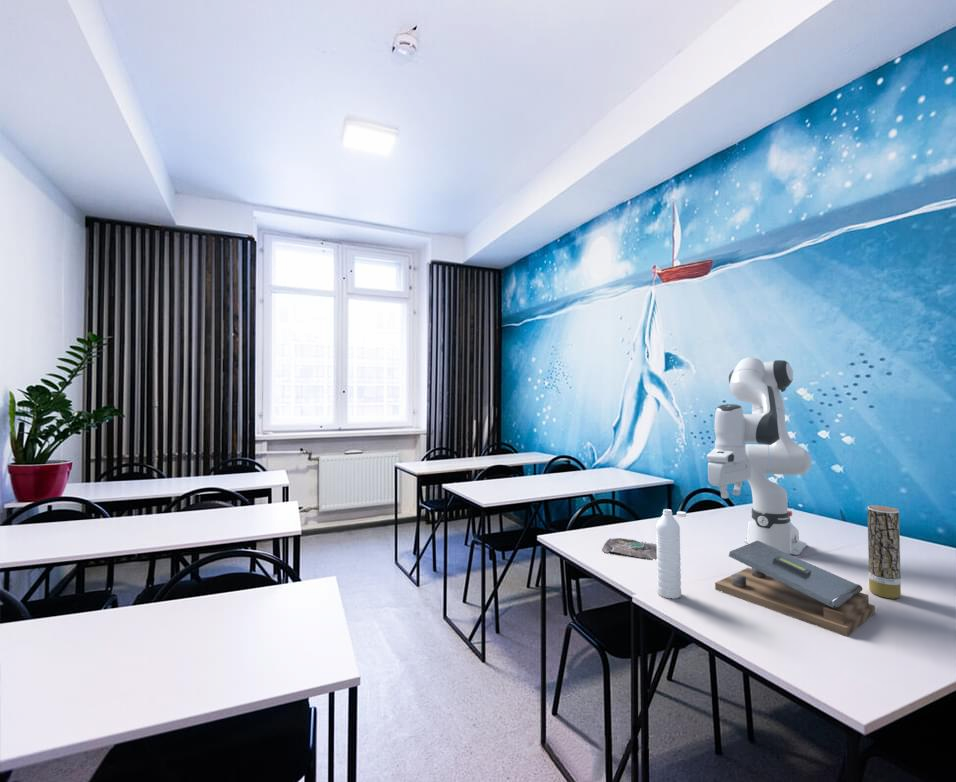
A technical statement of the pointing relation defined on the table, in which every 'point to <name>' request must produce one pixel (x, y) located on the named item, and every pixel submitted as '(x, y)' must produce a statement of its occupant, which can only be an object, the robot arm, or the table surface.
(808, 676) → the table surface
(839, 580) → the plate
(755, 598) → the leveling base
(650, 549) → the terrain model
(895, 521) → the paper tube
